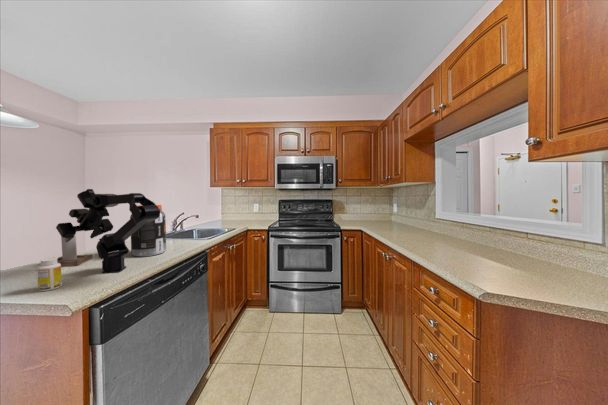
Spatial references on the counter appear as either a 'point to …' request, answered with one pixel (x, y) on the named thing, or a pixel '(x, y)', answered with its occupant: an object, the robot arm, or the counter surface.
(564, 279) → the counter surface
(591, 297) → the counter surface
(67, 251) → the beverage can
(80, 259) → the walnut tray
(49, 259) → the supplement bottle
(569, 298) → the counter surface
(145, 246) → the supplement tub
